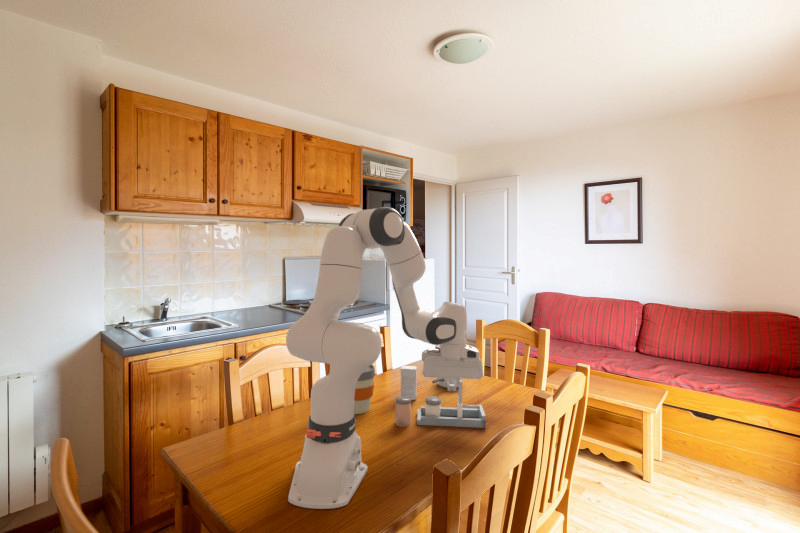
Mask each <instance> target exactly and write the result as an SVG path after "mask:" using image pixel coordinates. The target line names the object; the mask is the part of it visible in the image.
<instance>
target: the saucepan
mask: <svg viewBox="0 0 800 533" xmlns="http://www.w3.org/2000/svg"><path fill="white" fill-rule="evenodd" d="M460 380H462V381H463V379H462V378H460ZM448 382H449V384H454V383H455V382H456V380H455V378H449V381H448ZM431 383H432V384H436V383H437V385H439V386H440V387H442V388H444V389H445V388H446V389H448V386H447V384H446V382H445V378H436V379H434V380H432V381H431ZM458 384H459V383H458ZM457 388H458V385H457V386H456V389H457Z"/></svg>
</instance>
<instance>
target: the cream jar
mask: <svg viewBox="0 0 800 533" xmlns="http://www.w3.org/2000/svg"><path fill="white" fill-rule="evenodd" d="M424 398H425V399H424V403H425V405H424V406H425V415H424V416H435V417H441V416H440V415H441V407H442V398H440V397H438V396H434V395H433V396H432V395H431V396H426V397H424Z"/></svg>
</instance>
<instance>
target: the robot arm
mask: <svg viewBox="0 0 800 533" xmlns="http://www.w3.org/2000/svg"><path fill="white" fill-rule="evenodd" d="M367 249H370V250H371V249H372V250H373V249H380V250H382V252H383V255H384V259H385V261H386V263H387V266H388V269H389V271H390V274H391V281H392V286H393V290H394V293H395V297H396V299H397V302H398V306H399V310H400V313H401V326H402V331H403V333H404V335H406V336H407V337H408V338H410V339H415V340H419V341H422V342H424V343H428V344H430V345H432V346H433V345H434V346H438V345H439V348H435V349H431V348H430V349H429V348H427V349H426V350H423V351H422V353H421V361H422V362H423V363H422V373H421V374H422V376H423V377H425V378H436V379H437V378H445V382H446V384H447V386H448V388H447V391H448V392H451V391H452V392H456V391H457V388H456V386H457V385H458V383H459V382H460V378H462V380H463V379H466V380H481V379H482V378H483V376H484V369H483V368H484V367H483V363H482V359H481V358H480V357H481V355H480V354H481V353H480V350H479V349H478V348H477V347H476V346H472V345H470V344H468V343H467V338H466V333H467V328H468V324H467V323H468V317H467V314H468V313H467V310H466V307H465V305H464V304H462V303H456V302H451V301H445V302H443V303H442V305H441V306H440V307H439V308H438V309H436V310H435V311H432V312H427V311H425V310H424V309H422V308H421V307H420V306H419V302H418V300H417V296H416V293H415V290H414V289H415V288H414V284H415V283H416V282H417V281H419V280H420V279H421V278H422V277H423V276H424V274H425V272H426V262H425V257H424V254H423V252H422V249H421V247H420V245H419V243H418V240H417V238H416V236H415V234H414V232H413V231H412V229H411V228H410V226H409V225H408V224H407V223H406V222H405V221H404V218H403V217H402V215H401V214H400V213H399V212H398V211H397V210H396V209H395V208H393V207H388V206H381V207H377V208H371V209H368V208H367V209H366V208H365V209H363V210H360V211H357V212H354V213H350V214H348V215H345V217H343V218H341V220H340V222H339V223H338V226H335V227H332V228H330V229H329V231H328V232H327V233H326V236H325V239H324V243H323V245H322V250H321V254H320V261H319V269H318V278H317V283H316V284H317V285H316V288H315V289H316V290H315V294H314V297H313V299H312V301H311V303H310V305H309V307H308V308H307V310H306V312H305V313H304V314H303V315H302V316H301V317H300V318H299V319H297V320H295V321H294V322H293V323H292V324H291V325H290V327H288V328H289V329H288V330H287V333H286V336H285V337H286V338H285V344H286V348H287V350H288V353H289V354H290V355H291V356H294V357H296V358H298V359H301V360H303V361H307V362H313V363H319V364H320V363H322V364H328V365H329V373H328V375H325V376H322V377H321V378H319V379H317V380H316V381H315V383H314V384H313V385H312V387H311V390H310V415H309V416H308V423H307V429H306V434H305V435H304V445H303V449H302V453H301V454H302V455H300V457H299V461H297V462H296V464H295V468H294V471H293V472H294V473H293V476H292V481H291V483H290V487H289V488H290V489H289V492H288V498H287V501H288V502H289V503H290V504H292V505H293V506H297V507H301V508H305V509H313V510H314V509H316V510H319V509H320V510H325V509H327V510H328V509H331V510H332V509H336V508H337V509H338V508H341V507H344V506H347V505H348V504H349V502H350V500H351V499H352V498H353V496H354V494H355V493H356V492H357V489H358V488H359V486H360V485H361V483H362V481H363V479H364V478H365V476H366V475H367V472H368V471H369V469H368V467H369V466H368V465H367V464H366V463H364V462H362V438H361V437H360V435H359V434H358V433H357V432H356V422H357V421H356V420H357V419H356V414H354V396H355V387H356V384H357V381H358V379H359V377H360V375H361V374H362V372H363V371H364V370H365V369H366V368H368V367H369V366H371V365H373V364H374V363H376V361H377V360H378V359H379V357H380V354H381V351H382V338H381V336H380V334H379V332H378V330H377V329H376V328H375V327H374V326H373V327H372V326H371V325H367V324H363V323H360V322H353V321H352V322H351V321H340V320H339V316H340V314H341V312H342V311H343V310H344V309H345V308H346V307H349V306H351V305H353V304H354V303H356V302H357V300H358V299H359V297H360V291H361V282H362V271H363V259H364V258H363V256H364V253H365V251H366V250H367ZM449 378H455V380H456V382H455V383H454V384H449V382H448V381H449Z"/></svg>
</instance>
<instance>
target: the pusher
mask: <svg viewBox="0 0 800 533" xmlns="http://www.w3.org/2000/svg"><path fill="white" fill-rule="evenodd" d="M457 388H458V389H457V390H458V391H457V392H458V393H457V398H456V399H457V401H456V404H457V406H456V408H457V416H456V418H463V417H462V410H463V408H470V409H480V406H479V405H480V404H463V379H462V380H460V382H459V384H458V387H457Z"/></svg>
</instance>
